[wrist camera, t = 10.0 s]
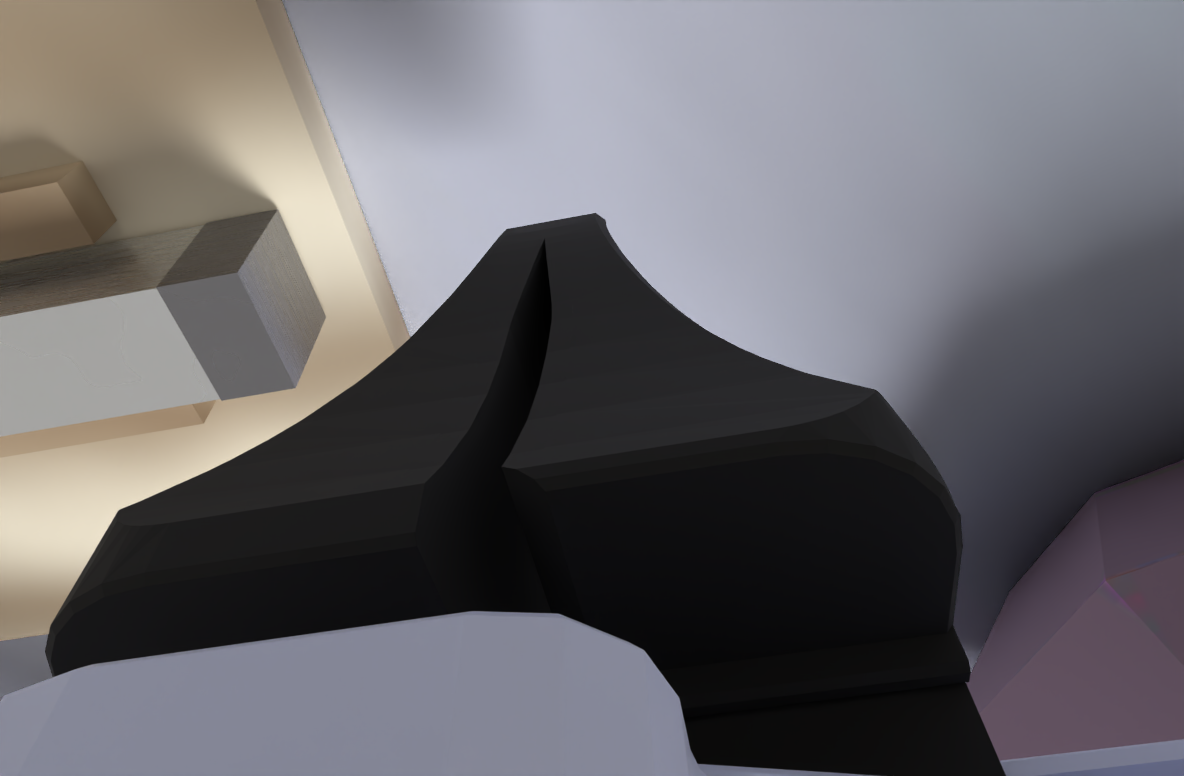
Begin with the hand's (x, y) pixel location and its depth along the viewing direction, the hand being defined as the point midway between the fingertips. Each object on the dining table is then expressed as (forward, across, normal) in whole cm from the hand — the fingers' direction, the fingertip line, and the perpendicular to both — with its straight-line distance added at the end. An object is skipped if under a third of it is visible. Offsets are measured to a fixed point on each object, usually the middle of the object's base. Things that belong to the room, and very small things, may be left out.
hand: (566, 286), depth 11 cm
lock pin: (+2, +10, 0) cm, 10 cm away
